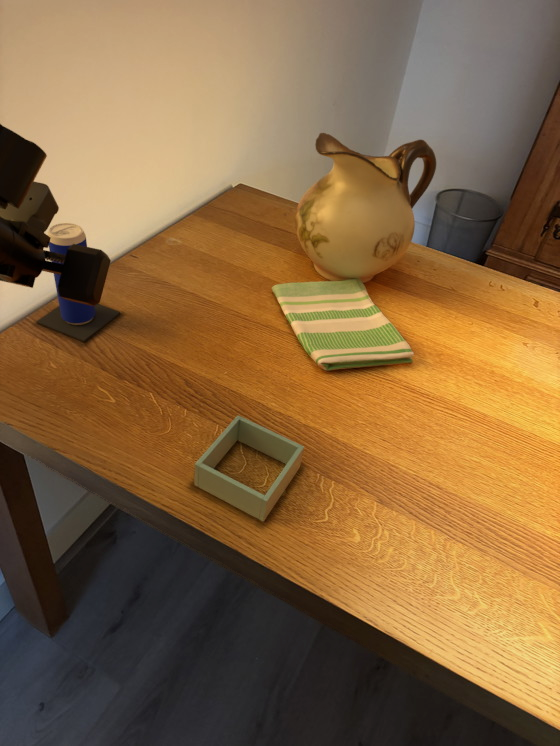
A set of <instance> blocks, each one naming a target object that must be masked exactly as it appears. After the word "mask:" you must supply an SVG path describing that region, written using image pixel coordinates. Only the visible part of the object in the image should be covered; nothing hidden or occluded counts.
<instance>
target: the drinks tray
mask: <svg viewBox="0 0 560 746" xmlns="http://www.w3.org/2000/svg"><path fill="white" fill-rule="evenodd" d="M237 441H238V442H240V443H242V444H244V445H246V446H248V447H250V448H252V449H255V450H256V451H258V452H260V453H262V454H264V455H266V456H268V457H270V458H273V459H275V460H277V461H279V462H281V463H283V464H285V466H284V467H283V469H282V470H281V471H280V473H279V474H278V476H277V478H276V479H275V480H274V482H273V483H272V484H271V486H270V487H269V488H268V490H267V491H266V493H265V494H263V493H261V492H259V491H258V490H256V489H253V488H251V487H249V486H247V485H246V484H244V483H241V482H240V481H238V480H235V479H234V478H232V477H230V476H228V475H226V474H224V473H222V472H220V471H218V470H217V469H215V468H216V467H217V465H218V464H219V463H220V462H221V460H222V459H223V458H224V457H225V456H226V454H227V453H228V452H229V451H230V450H231V449H232V447H233V446H234V445H235V444H236V442H237ZM304 450H305V446H304V445H302V444H300V443H298V442H296V441H293V440H291V439H289V438H287V437H285V436H283V435H281V434H279V433H277V432H275V431H272V430H270V429H269V428H266V427H264V426H262V425H260V424H258V423H256V422H253V420H252V421H251V420H250V419H247V418H245V417H243V416H241V415H239V414H237V415H236V416H235V418H233V419H232V421H231V422H230V423H229V424H228V426H226V428H225V429H224V430H223V431H222V432H221V433H220V434H219V436H218V437H217V438H216V439H215V440H214V441H213V442H212V444H210V446H209V447H208V448H207V449H206V450H205V452H204V453H203V454H202V455H201V456H200V457H199V458H198V459H197V461H196V462H195V463H194V478H193V479H194V480H193V481H194V483H193V484H194V486H195V487H197V488H199V489H201V490H203V491H204V492H206V493H208V494H210V495H212V496H214V497H215V498H217V499H219V500H221V501H223V502H225V503H227V504H229V505H231V506H233V507H234V508H237V509H239V510H240V511H242V512H244V513H246V514H248V515H249V516H251V517H253V518H255V519H257V520H259V521H261V522H263V523H264V522H265V520H266V519H267V518H268V516H269V514H270V513H271V511H272V510H273V509H274V507H275V505H276V504H277V503H278V501H279V499H280V498H281V497H282V495H283V494H284V492H285V491H286V489H287V487H288V486H289V485H290V483H291V481H292V480H293V478H294V477H295V475H296V474H297V472H298V471H299V469H300V468H301V465H302V459H303V455H304Z"/></svg>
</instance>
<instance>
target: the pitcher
mask: <svg viewBox="0 0 560 746" xmlns="http://www.w3.org/2000/svg"><path fill="white" fill-rule="evenodd" d="M314 146H315V151H316V152H317V154H319V155H320V156H323V157H327V158H330V159H332V161H333V165H332V168H331V169H330V171H328V173H326V174H325V175H324V176H322V177H321V178H320V179H318V180H317V181H316V182H315V183H313V184H312V185H311V186H310V187H309V188H308V189H307V190H306V192H305V193H304V194H303V195H302V197H301V198H300V200H299V202H298V204H297V207H296V210H295V215H294V216H295V218H294V224H295V232H296V235H297V239H298V242H299V244H300V246H301V248H302V250H303V251H304V253H305V254H306V256H307V257H308V259H309V260H310V261H311V262H312V263H313V268H314V270H315V271H316V273H317V274H318V275H320V276H321V277H322V278H324V279H325V280H327V281H343V280H347V279H352V278H359V279H360V280H361V281H362V283H363V284H366V283H368V282H370V281H371V280H372V279H374V277H375V276H376V275H379V274H380V273H382V272H384V271H387V270H388V269H389V268H391V267H393V265H395V264H397V262H398V261H399V260H400V259H401V258H402V257H403V256H404V255H405V253H406V251H407V250H408V248H409V247H410V245H411V242H412V241H413V239H414V238H413V237H414V233H415V226H416V225H415V224H416V221H415V214H414V212H413V208H414V207H415V205H416V204H417V203H418V201H419V200H420V199H421V198H422V196H423V195H424V193H425V192H426V191H427V189H428V188H429V186H430V184H431V183H432V180H433V179H434V177H435V174H436V170H437V158H436V154H435V152H434V150H433V148H432V147H431V146H430V145H429V144H428V143H427V142H426V141H425V140H424V139H416V140H413V141H410V142H406V143H403V144H401V145H400V146H398V147H396V148H395V149H394V150H393V151H392V152H391V153H390V154H389V155H382V156H380V155H379V156H377V155H376V156H374V155H369V154H368V155H367V154H362V153H360V152H358V151H355V150H353V149H350V148H349V147H348V146H346V145H345V144H343V143H342V142H341V141H340V140H338V138H336V137H334V136H333V135H331V134H329V133H325V132H320V133H319V134H318V136H317V138H316V139H315V144H314ZM417 159H422V162H423V169H422V172H421V176H420V178H419V179H418V182H417V183H416V185H415V186H414V188H413V190H412V191H411V192H410V189H409V178H410V172H411V168H412V167H413V164H414V162H415V161H416V160H417Z"/></svg>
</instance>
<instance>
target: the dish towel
mask: <svg viewBox="0 0 560 746" xmlns="http://www.w3.org/2000/svg"><path fill="white" fill-rule="evenodd" d="M271 291H272V293H273V295H274V296H275V298H276V300H277V302H278V304H279V307H280V308H281V310H282V312H283V314H284V316H285V318H286V320H287V321H288V323H289V325H290V326H291V329H292V331H293V333H294V335H295V336H296V339H297V340H298V342H299V344H300V345H301V346H302V348H303V350H304V351H305V353H306V354H307V355H308V356H309V357H310V358H311V359H312V361H314V363H315V364H316V366H318V367H319V368H321V370H324V371H326V372H329V371H335V370H336V371H337V370H345V369H354V368H356V369H357V368H367V367H377V366H378V367H379V366H389V365H399V364H410V363H413V362H414V361H413V359H412V358H414V355H415V353H414V351H413V350H412V348H411V346H410V344H409V343H408V342H407V340H406V339H405V337H403V336H402V334H401V332H400V331H399V330H398V329H397V328H396V327H395V325H394V324H393V323H392V322H391V321H390V320H389V319H388V318H387V317H386V316H385V314H383V312H382V310H381V309H380V308H379V307H378V306H377V305H376V304H375V303H374V302H373V300H372V299H371V297H370V295H369V293H368V289H367V288H366V285H365V283H362V281H361V280H360V279H359V278H352V279H347V280H343V281H330V280H322V281H321V280H320V281H302V282H285V283H284V282H283V283H277V284H275V285H273V286H272V287H271Z"/></svg>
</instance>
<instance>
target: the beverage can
mask: <svg viewBox="0 0 560 746" xmlns="http://www.w3.org/2000/svg"><path fill="white" fill-rule="evenodd" d="M47 235H48V236H49V237H51V239H50V242H49V246H48V251H50V252H55V253H60V254H64V255H66V253H67V250H68V248H69V247H70V246H72V245H73V244H76V245H81V246H86V247H88V242H87V236H86V232H85V231H84V229H83V227H81V226H80V225H78V224H75V223H71V222H65V223H64V222H62V223H57V224H54V225H51V226H49V228H48V231H47ZM51 262H54V261H53V260H52V261H51ZM55 263H59V262H56V261H55ZM60 264H63V263H60ZM60 276H61V275H59V274H54V273H53V278H54V285H55V287H56V289H55V290H56V293H57V294H56V295H57V300H58V306H59V307H60V312H61V317H62V319H63V320H65V321H66V322H67V323H69V324H72V325H83V324H86V323H88V322H90V321H91V320H92V319H93V318H94V316H95V306H91V305H86V304H82V303H78V302H73V301H70V300H66V299H64V298H61V297H59V292H58V283H59V279H60Z"/></svg>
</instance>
